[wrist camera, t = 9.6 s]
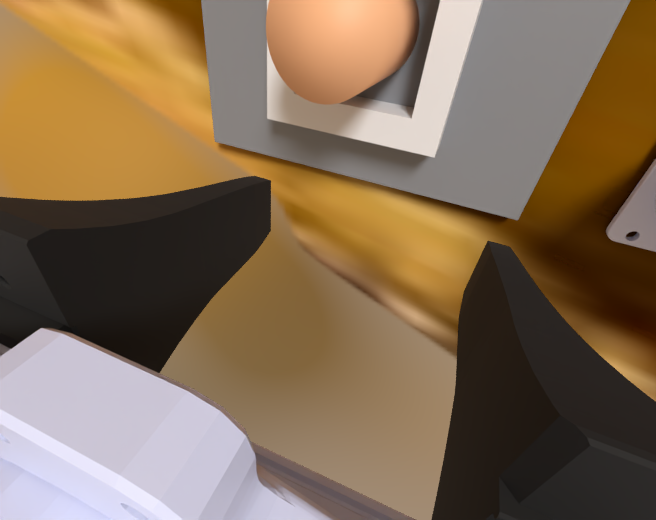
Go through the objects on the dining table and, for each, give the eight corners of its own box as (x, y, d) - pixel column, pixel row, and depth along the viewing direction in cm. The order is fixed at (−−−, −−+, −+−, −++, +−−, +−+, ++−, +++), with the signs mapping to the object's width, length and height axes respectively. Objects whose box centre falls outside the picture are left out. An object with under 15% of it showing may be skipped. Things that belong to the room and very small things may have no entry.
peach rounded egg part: (431, -24, 14) (400, -44, 9) (407, 86, 16) (372, 115, 12) (336, -34, 15) (265, -57, 10) (327, 72, 17) (266, 93, 12)
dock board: (732, -219, 10) (803, -288, 8) (516, 211, 18) (520, 240, 16) (196, -213, 14) (138, -257, 12) (224, 137, 22) (194, 151, 20)
